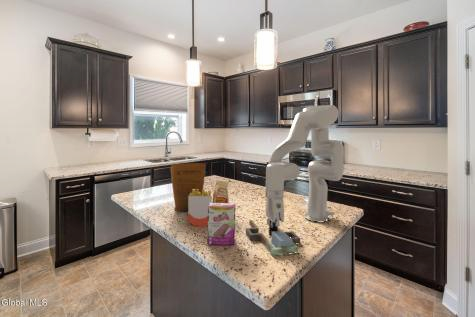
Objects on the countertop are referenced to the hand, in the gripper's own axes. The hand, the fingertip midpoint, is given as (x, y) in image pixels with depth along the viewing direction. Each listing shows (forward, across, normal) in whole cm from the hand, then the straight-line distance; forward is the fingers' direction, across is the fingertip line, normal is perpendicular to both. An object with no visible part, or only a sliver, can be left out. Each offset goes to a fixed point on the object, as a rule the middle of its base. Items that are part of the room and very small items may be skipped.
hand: (273, 235), depth 103 cm
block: (+2, -7, -1) cm, 7 cm away
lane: (+2, +4, 0) cm, 4 cm away
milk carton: (+2, +34, +17) cm, 39 cm away
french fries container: (+2, +24, +29) cm, 37 cm away
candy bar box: (+2, +2, +22) cm, 22 cm away
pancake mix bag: (+2, +46, +34) cm, 57 cm away
